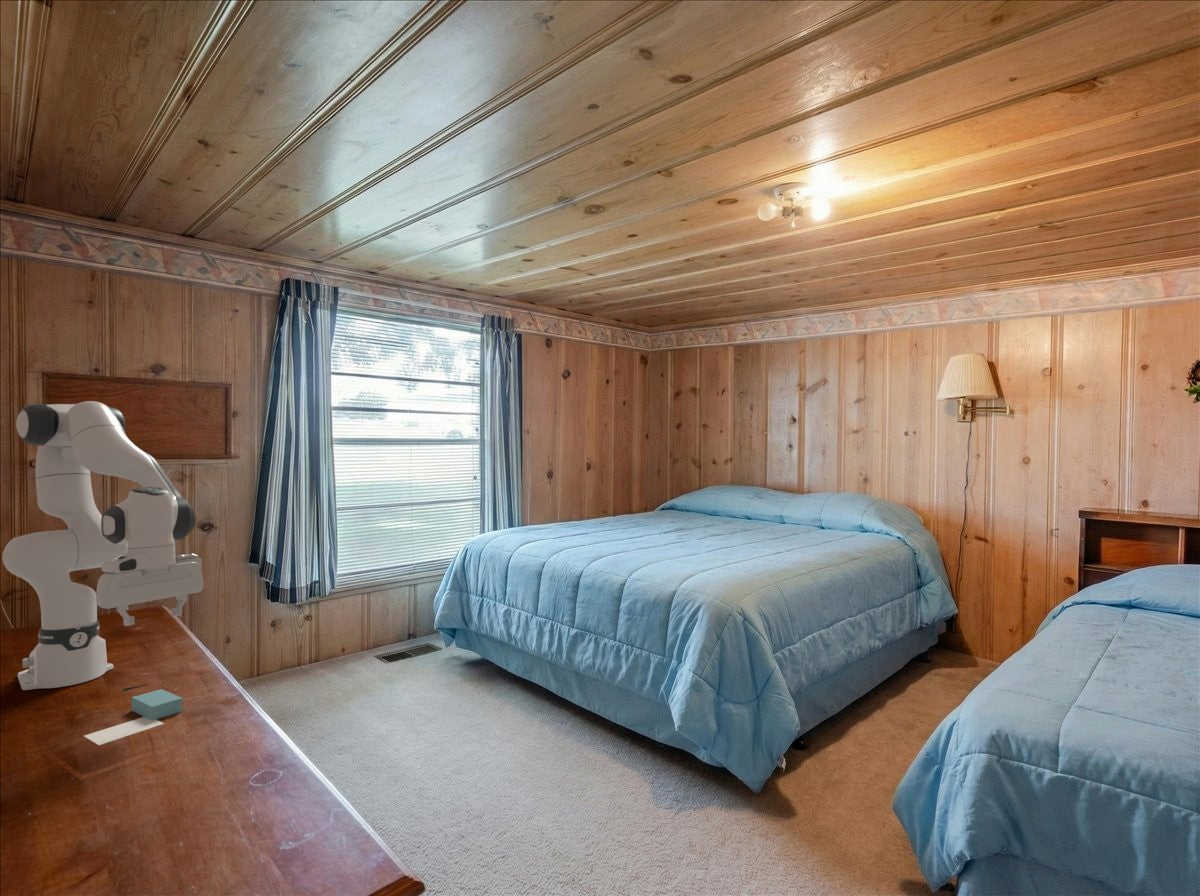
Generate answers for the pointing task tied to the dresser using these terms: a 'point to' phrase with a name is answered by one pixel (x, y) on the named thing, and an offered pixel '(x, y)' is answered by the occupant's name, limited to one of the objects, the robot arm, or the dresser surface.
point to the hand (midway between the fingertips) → (153, 620)
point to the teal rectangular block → (156, 704)
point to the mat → (122, 730)
